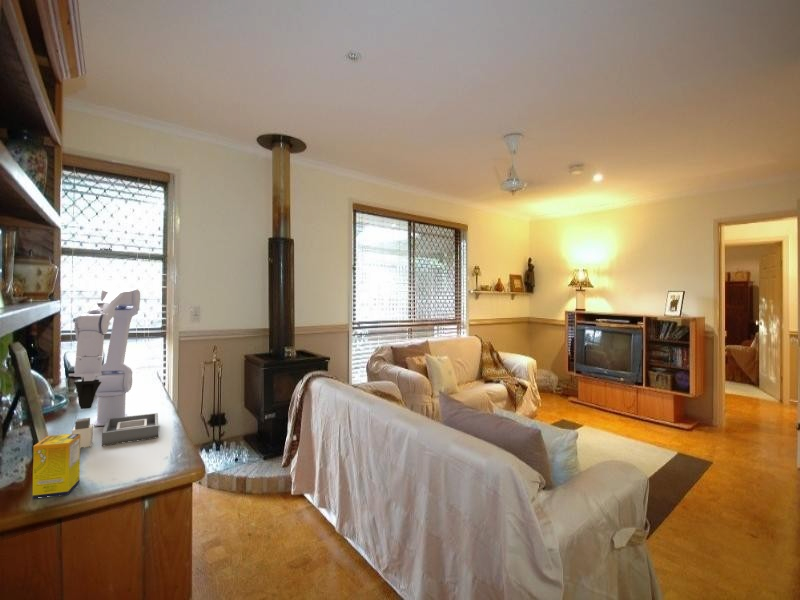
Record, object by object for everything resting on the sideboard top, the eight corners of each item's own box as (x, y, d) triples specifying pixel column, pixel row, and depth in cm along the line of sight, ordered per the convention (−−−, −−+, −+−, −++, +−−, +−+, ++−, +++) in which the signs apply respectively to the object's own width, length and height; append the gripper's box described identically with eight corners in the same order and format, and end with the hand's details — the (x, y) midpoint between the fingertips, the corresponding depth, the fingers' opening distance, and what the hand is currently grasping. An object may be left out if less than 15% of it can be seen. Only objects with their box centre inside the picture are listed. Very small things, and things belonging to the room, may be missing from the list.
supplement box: (45, 486, 83) (47, 435, 83) (80, 482, 85) (81, 432, 85) (30, 500, 77) (32, 445, 77) (67, 495, 79) (69, 442, 79)
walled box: (106, 430, 117) (107, 418, 117) (157, 423, 124) (157, 412, 124) (101, 445, 105) (102, 433, 105) (158, 437, 112) (158, 425, 112)
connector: (73, 444, 106) (74, 418, 106) (92, 441, 108) (93, 416, 108) (71, 449, 102) (72, 423, 102) (90, 446, 105) (91, 420, 105)
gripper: (69, 357, 110) (65, 406, 108) (70, 356, 99) (65, 411, 97) (101, 357, 114) (97, 404, 112) (105, 356, 104) (101, 408, 102)
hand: (84, 407), depth 105 cm, fingers open, 7 cm apart
